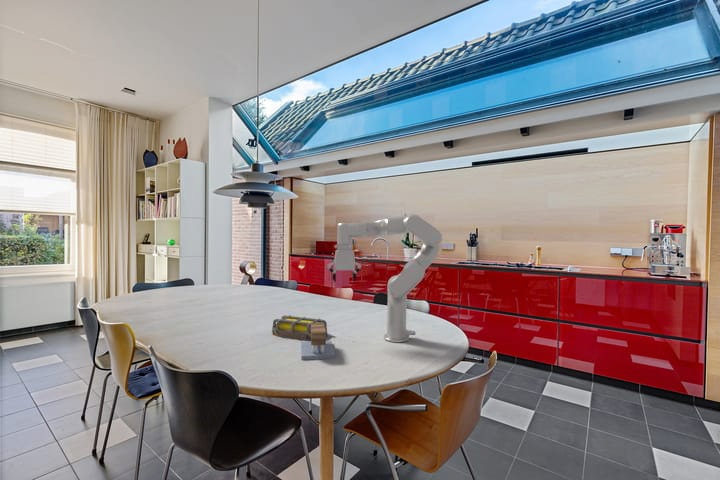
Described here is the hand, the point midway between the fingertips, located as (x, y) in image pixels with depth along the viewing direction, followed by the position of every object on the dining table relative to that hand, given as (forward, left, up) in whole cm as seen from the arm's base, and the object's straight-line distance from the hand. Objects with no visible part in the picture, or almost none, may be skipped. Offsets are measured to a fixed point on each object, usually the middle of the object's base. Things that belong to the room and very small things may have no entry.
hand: (344, 281), depth 165 cm
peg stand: (+14, +18, -28) cm, 36 cm away
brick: (+14, +18, -23) cm, 32 cm away
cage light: (+22, -8, -29) cm, 37 cm away
